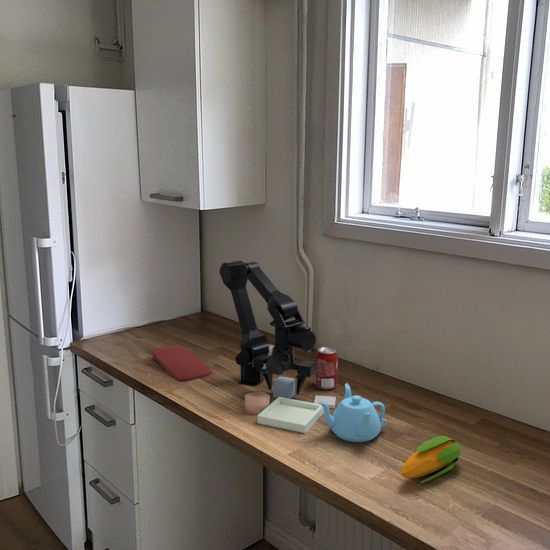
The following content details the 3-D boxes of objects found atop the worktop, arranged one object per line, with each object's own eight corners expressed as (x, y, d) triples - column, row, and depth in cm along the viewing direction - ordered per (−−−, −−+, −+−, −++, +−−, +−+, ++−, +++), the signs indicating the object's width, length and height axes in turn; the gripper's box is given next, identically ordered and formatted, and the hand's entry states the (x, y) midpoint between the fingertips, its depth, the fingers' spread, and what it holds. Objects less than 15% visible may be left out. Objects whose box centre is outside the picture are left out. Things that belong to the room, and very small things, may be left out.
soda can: (335, 391, 190) (336, 354, 188) (313, 389, 192) (314, 352, 189) (338, 383, 197) (339, 347, 194) (316, 381, 198) (317, 345, 195)
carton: (212, 385, 205) (178, 353, 224) (213, 372, 204) (179, 341, 223) (179, 393, 198) (147, 360, 217) (180, 380, 197) (147, 347, 216)
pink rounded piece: (240, 412, 176) (240, 399, 175) (251, 402, 182) (251, 390, 182) (263, 416, 173) (263, 403, 172) (273, 407, 179) (273, 394, 179)
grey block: (313, 408, 180) (313, 403, 179) (315, 400, 185) (315, 395, 185) (334, 409, 179) (334, 405, 178) (335, 401, 184) (335, 396, 184)
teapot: (393, 431, 165) (395, 394, 163) (366, 453, 153) (368, 414, 151) (345, 417, 173) (346, 382, 171) (316, 437, 161) (316, 399, 159)
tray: (257, 423, 169) (257, 415, 169) (278, 403, 181) (278, 396, 181) (305, 433, 163) (305, 425, 163) (324, 412, 176) (324, 405, 175)
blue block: (273, 397, 186) (273, 381, 185) (279, 391, 190) (280, 376, 189) (288, 400, 184) (288, 384, 183) (295, 394, 188) (295, 378, 187)
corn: (469, 435, 146) (417, 463, 133) (469, 465, 147) (417, 496, 135) (442, 426, 152) (389, 452, 139) (442, 455, 153) (390, 484, 140)
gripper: (243, 346, 180) (243, 396, 184) (303, 355, 173) (302, 407, 176) (260, 335, 190) (260, 383, 194) (317, 343, 183) (316, 393, 186)
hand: (284, 392), depth 187 cm, fingers open, 9 cm apart
